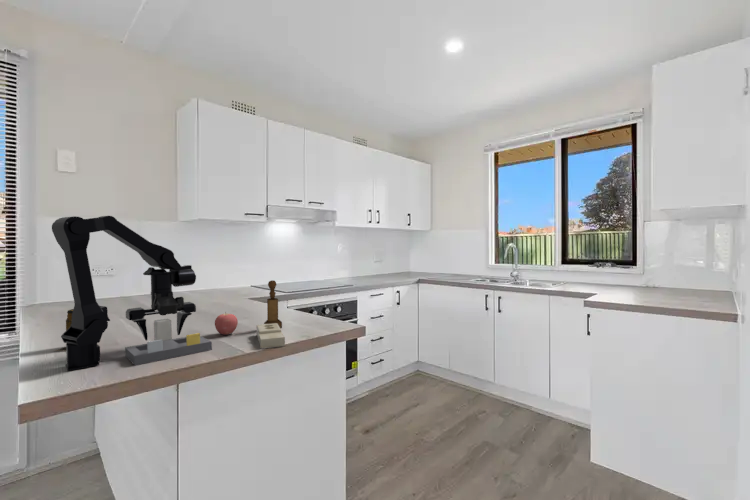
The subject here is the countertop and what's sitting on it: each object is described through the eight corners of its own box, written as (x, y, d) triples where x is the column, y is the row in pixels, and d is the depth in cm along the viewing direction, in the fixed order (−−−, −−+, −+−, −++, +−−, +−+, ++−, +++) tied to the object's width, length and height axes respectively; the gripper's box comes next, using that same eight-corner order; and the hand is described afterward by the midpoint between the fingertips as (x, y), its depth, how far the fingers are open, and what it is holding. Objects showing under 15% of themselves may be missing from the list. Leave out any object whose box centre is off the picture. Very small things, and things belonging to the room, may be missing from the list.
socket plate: (134, 365, 100) (134, 344, 99) (125, 355, 108) (124, 337, 108) (211, 349, 113) (211, 331, 113) (197, 342, 122) (197, 325, 122)
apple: (211, 334, 132) (210, 312, 132) (230, 330, 138) (230, 309, 138) (221, 338, 127) (220, 314, 127) (241, 333, 133) (240, 311, 133)
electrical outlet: (260, 336, 114) (256, 324, 131) (260, 349, 114) (256, 336, 131) (284, 334, 117) (277, 322, 133) (284, 347, 117) (277, 334, 133)
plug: (157, 348, 116) (157, 322, 116) (154, 345, 119) (153, 320, 119) (171, 345, 119) (171, 320, 119) (168, 343, 122) (167, 318, 122)
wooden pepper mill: (279, 330, 137) (278, 281, 137) (261, 330, 138) (260, 281, 137) (283, 326, 144) (283, 279, 144) (267, 326, 144) (266, 279, 144)
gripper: (133, 294, 106) (134, 348, 107) (201, 287, 119) (202, 336, 120) (124, 290, 114) (126, 341, 115) (189, 285, 127) (190, 330, 128)
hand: (162, 337), depth 119 cm, fingers open, 9 cm apart
